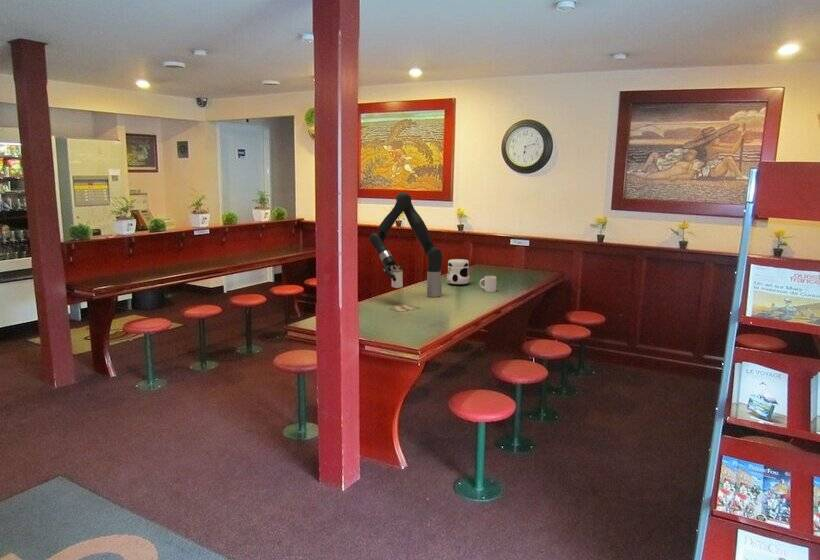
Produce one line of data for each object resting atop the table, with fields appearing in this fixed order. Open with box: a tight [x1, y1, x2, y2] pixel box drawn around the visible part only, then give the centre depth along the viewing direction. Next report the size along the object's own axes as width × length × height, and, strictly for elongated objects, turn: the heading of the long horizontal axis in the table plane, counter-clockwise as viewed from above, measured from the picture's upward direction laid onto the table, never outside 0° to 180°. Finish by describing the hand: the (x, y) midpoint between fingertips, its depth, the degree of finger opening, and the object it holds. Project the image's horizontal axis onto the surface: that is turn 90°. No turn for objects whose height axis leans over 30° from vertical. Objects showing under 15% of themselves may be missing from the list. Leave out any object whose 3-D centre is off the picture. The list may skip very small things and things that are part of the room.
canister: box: [390, 269, 404, 289], centre depth 366 cm, size 5×5×11 cm
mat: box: [387, 304, 420, 313], centre depth 357 cm, size 16×12×1 cm
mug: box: [478, 275, 497, 293], centre depth 407 cm, size 12×8×10 cm
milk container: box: [446, 258, 471, 286], centre depth 430 cm, size 17×17×18 cm
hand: (398, 280), depth 364 cm, fingers closed on canister, 5 cm apart
